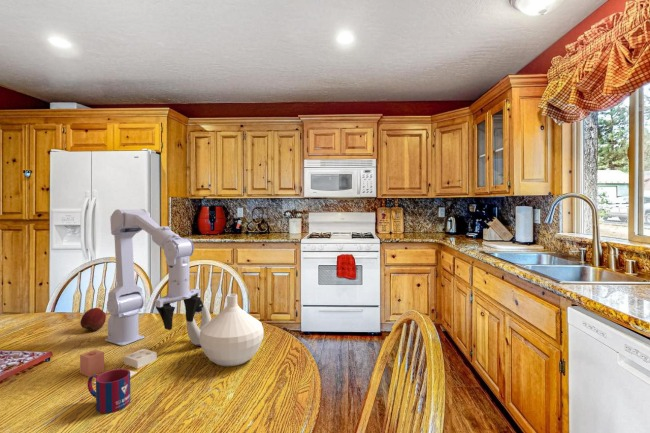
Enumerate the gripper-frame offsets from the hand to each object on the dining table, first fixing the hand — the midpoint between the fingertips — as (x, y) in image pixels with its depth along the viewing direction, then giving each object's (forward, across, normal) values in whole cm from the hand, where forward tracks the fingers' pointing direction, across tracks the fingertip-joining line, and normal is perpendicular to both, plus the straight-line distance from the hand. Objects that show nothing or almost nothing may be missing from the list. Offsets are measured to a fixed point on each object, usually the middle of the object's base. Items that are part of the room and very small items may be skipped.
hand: (179, 325), depth 103 cm
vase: (+10, +7, -14) cm, 19 cm away
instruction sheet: (+10, -16, +5) cm, 19 cm away
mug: (+10, -24, -5) cm, 26 cm away
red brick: (+10, -17, +14) cm, 24 cm away
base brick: (+10, -7, +8) cm, 15 cm away
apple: (+10, +1, +46) cm, 47 cm away
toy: (+10, +10, +3) cm, 15 cm away
